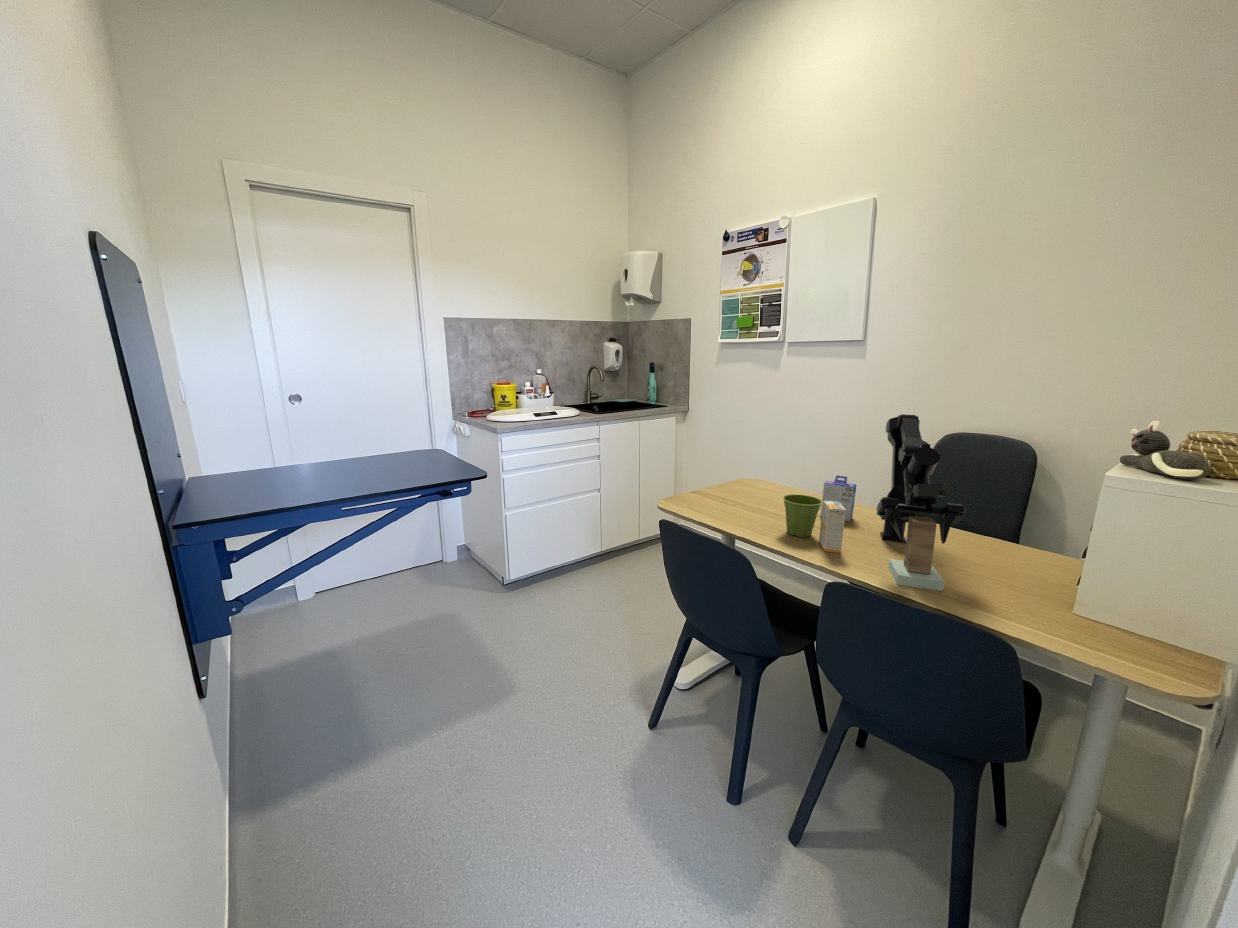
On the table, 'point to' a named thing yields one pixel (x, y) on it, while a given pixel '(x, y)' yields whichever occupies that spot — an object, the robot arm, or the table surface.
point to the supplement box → (832, 526)
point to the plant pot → (801, 513)
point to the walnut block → (920, 544)
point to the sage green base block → (915, 576)
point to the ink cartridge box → (840, 494)
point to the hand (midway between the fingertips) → (922, 540)
